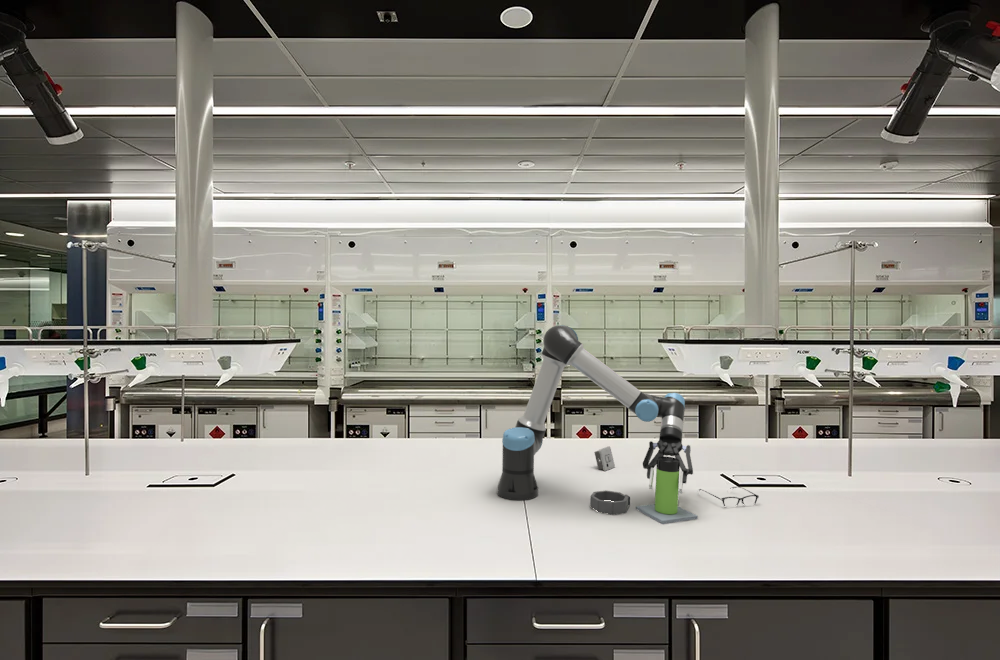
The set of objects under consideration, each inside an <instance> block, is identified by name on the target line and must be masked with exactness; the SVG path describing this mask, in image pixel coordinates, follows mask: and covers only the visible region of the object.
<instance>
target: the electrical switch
mask: <svg viewBox="0 0 1000 660" xmlns="http://www.w3.org/2000/svg"><path fill="white" fill-rule="evenodd" d="M594 456H595V460H596V465H597V469H598V470H603V471H604V472H606V471H609V470H611V469H613V468H615V466H616V465H615V461H614V457H613V452H612V448H611V446H605V447H602V448H600V449H598V450H597V451H594Z"/></svg>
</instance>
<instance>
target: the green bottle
mask: <svg viewBox="0 0 1000 660" xmlns="http://www.w3.org/2000/svg"><path fill="white" fill-rule="evenodd" d="M655 468H656V473H655V492H654V504H655V510H656V511H657V512H660V513H663V514H676V513H677V512H678V506H679V485H680V469H681V468H680V460H678V459H676V458H675V457H674V456H665V455H664V456H663V457H658V458H657V464H656V467H655Z"/></svg>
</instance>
